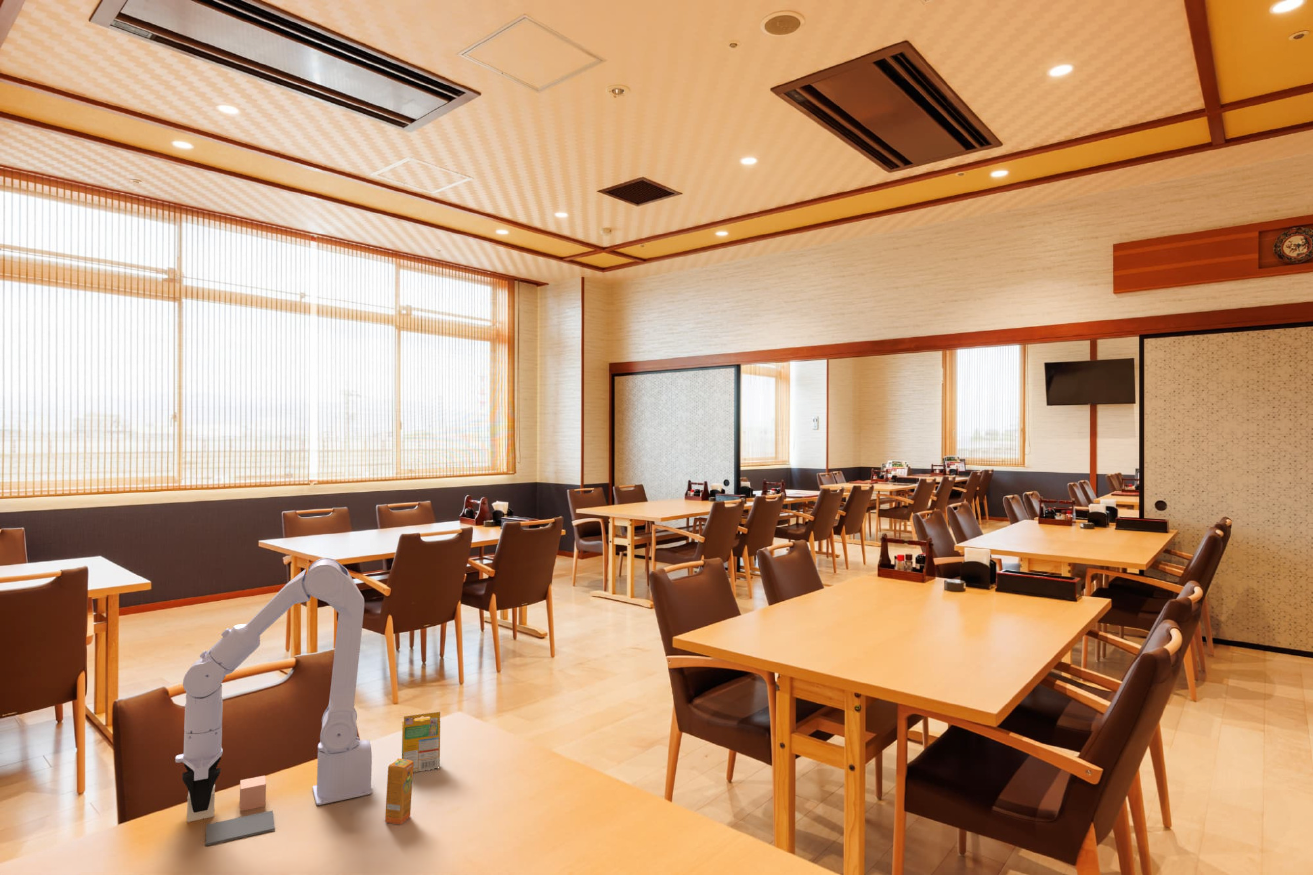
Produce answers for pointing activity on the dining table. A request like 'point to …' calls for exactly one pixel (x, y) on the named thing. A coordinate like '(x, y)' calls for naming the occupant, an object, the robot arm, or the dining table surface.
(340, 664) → the robot arm
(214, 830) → the build mat
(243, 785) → the terracotta block
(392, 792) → the supplement box
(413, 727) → the crayon box
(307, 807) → the dining table surface
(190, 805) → the cream block
